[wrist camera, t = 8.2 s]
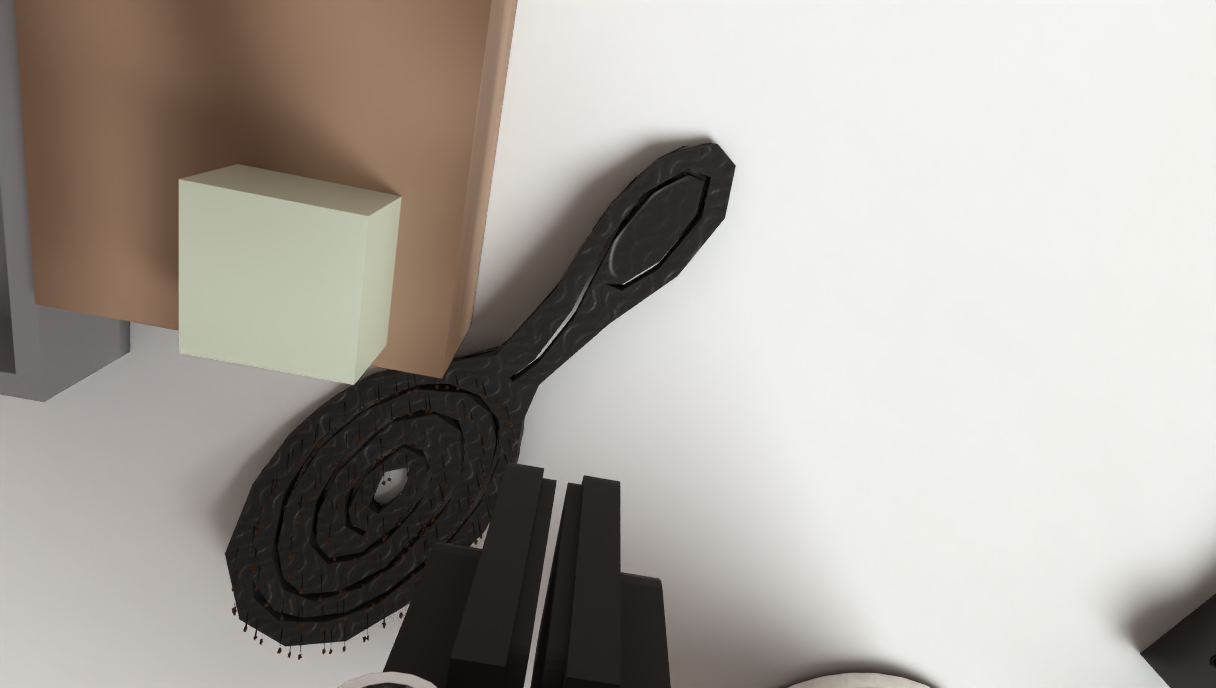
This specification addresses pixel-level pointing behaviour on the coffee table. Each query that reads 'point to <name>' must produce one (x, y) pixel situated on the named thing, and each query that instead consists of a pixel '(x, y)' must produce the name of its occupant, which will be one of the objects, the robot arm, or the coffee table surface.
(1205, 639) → the wireless router
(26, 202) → the box
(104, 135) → the brown square platform
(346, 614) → the hairbrush
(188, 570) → the coffee table surface
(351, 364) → the pale green cube
